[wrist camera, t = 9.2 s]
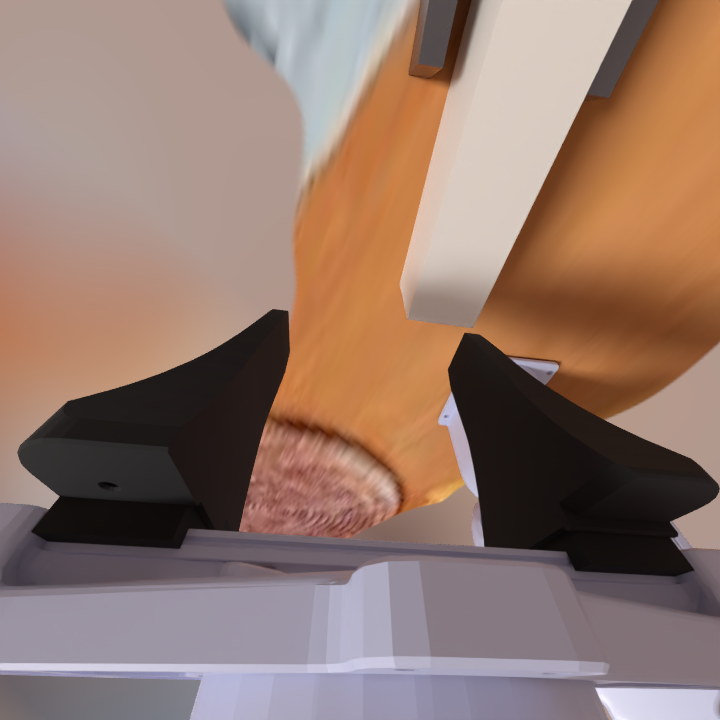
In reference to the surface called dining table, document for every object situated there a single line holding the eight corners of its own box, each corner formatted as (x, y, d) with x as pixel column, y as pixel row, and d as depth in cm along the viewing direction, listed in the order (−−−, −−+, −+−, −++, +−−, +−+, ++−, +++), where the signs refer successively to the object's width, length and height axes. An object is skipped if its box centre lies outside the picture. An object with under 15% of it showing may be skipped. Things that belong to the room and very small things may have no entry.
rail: (452, 290, 20) (472, 328, 17) (399, 282, 20) (407, 319, 16) (607, -109, 10) (754, -252, 6) (504, -138, 10) (593, -306, 6)
